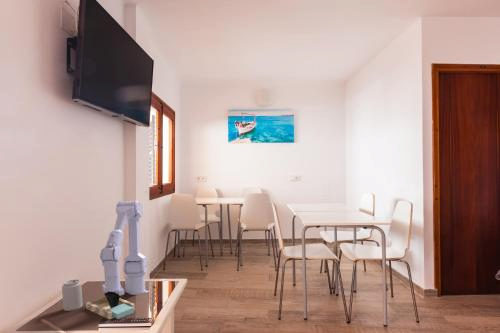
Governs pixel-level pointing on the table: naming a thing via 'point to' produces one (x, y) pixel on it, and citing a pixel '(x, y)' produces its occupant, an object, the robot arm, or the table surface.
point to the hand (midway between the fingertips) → (114, 309)
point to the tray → (104, 306)
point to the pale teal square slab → (121, 311)
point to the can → (72, 295)
